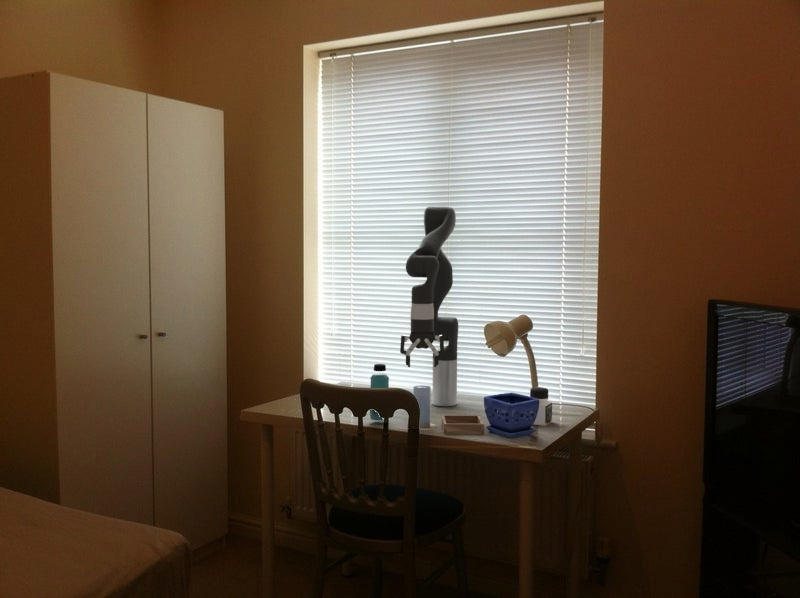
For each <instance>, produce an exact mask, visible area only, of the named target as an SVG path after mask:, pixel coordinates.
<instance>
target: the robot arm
mask: <svg viewBox="0 0 800 598" xmlns="http://www.w3.org/2000/svg"><path fill="white" fill-rule="evenodd" d="M456 216H457V215H456V211H455V209H454V208H453V207H450V206H428V207H426V208H425V209H424V212H423V227H424V237H423V239H422V240H421V242H420V243H419V246H418V248H417V249H416V250H415V251H413V253H412V254H410V256H408V258H407V260H406V263H405V271H406V273H407V275H408V276H410V277H411V278H426V279H425V282H424V283H421V284H416V285H414V286H412V288H411V304H410V334H409V335H405V334H402V335H400V346H399V347H400V349H399V350H400V351H399V353H400V354H402V355H404V356H405V364H406V366H407V367H408V368H411V353H412V352H413V351H414V350H415V349H419V350H420V349H425V350H426V349H430V350H431V352H432V395H431V397H432V398H431V400H432V401H431V403H432V405H433V406H437V407H454V406H456V405H457V401H458V395H457V394H458V340H459V339H458V337H459V321H458V318H457V317H455V316H439V310H440V307H441V305H442V303H443V301H444V300H445V299H446V297H447V296H448V294H449V293H450V290H451V289H452V287H453V284H454V282H453V281H454V279H453V278H454V277H453V274H454V273H453V266H452V263H451V261H450V260H449V258H448V256H447V255H446V254H445V252H444V251H443V250H442V246H443V245H444V244H445V242H446V241H447V240H448V238H450V236H451V234H452V233H453V232H454V230H455V227H456V223H457V222H456V221H457V219H456V218H457V217H456ZM409 340H410V342H411V345H409V347H408V349H407V350H405V343H407V342H408V341H409ZM434 341H435V342H437V343H439V349H437V348H436V347H435V346H434V345H433V343H434ZM445 342H448V344H447V345H446V346H445Z"/></svg>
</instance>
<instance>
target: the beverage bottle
mask: <svg viewBox="0 0 800 598" xmlns="http://www.w3.org/2000/svg"><path fill="white" fill-rule="evenodd" d="M373 365H374V366H373V371H374V372H378V373H373V374H372V375H371V376H370V388H390V387H389V386H390V383H389V381H390V377H389V375H388V374H386V373H381V372H386V371H387V367H386V366H387V365H386V364H383V363H376V364H373ZM379 372H380V373H379ZM370 388H369V389H370ZM369 418H370V420H372V421H380V422H381V421H384V420H383V419H382V418H381V417H379V415H378V413H377V412H375V411H374V410H370V409H369Z"/></svg>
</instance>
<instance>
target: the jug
mask: <svg viewBox="0 0 800 598" xmlns="http://www.w3.org/2000/svg"><path fill="white" fill-rule="evenodd" d="M412 388H413V390H412V391H413V392H412V395H414V396H415V397H416V399H417V401H418V403H419V406H420V428H429V427H430V423H431V403H432V401H431V400H432V398H431V397H432V395H431V388H432V387H431V386H430V385H425V384H424V385H414V386H413V387H412Z"/></svg>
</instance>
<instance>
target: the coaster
mask: <svg viewBox="0 0 800 598" xmlns="http://www.w3.org/2000/svg"><path fill="white" fill-rule="evenodd" d="M437 427H438V426H437V425H436V424H434V423H431V422H430V427H429V428H420V430H419V431H431V430H435V429H437ZM406 428H407V425H406Z"/></svg>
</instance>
